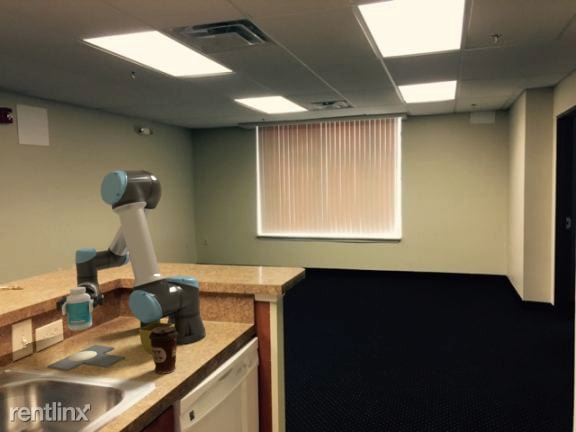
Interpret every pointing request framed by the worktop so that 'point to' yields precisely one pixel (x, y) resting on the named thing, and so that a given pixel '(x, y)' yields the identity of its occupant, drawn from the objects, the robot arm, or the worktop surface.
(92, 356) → the t mat
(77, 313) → the pill bottle
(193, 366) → the worktop surface
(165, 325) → the flower pot
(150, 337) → the coffee cup
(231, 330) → the worktop surface
